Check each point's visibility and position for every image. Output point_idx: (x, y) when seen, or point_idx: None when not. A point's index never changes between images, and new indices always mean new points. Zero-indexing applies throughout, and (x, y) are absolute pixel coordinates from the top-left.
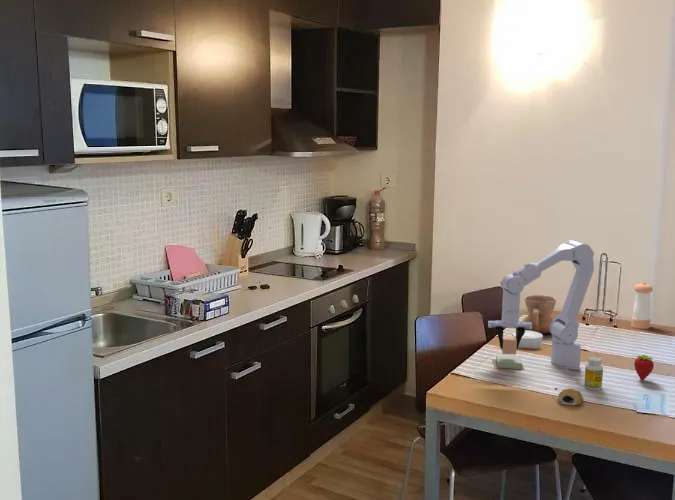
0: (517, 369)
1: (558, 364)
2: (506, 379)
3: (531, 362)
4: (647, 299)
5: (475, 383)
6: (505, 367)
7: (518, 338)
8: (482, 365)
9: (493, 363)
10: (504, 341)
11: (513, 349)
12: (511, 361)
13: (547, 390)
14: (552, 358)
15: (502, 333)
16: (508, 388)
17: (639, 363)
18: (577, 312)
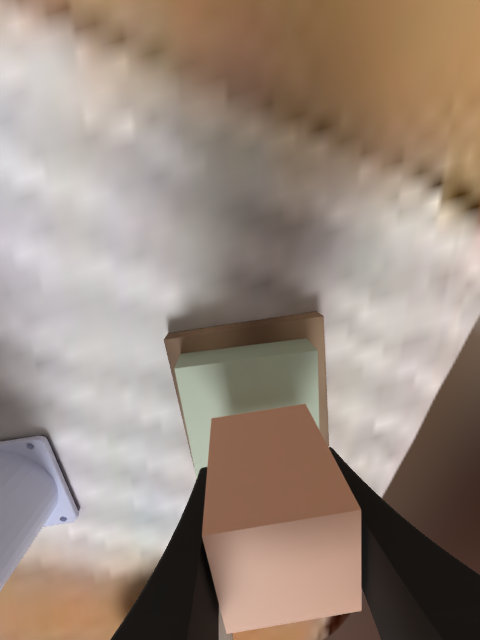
0: (203, 340)
1: (2, 463)
2: (257, 215)
3: (150, 485)
4: None
5: (434, 89)
6: (267, 344)
7: (181, 576)
8: (366, 389)
9: (324, 394)
10: (339, 491)
11: (233, 441)
12: (238, 383)
13: (3, 69)
14: (23, 502)
15: (444, 620)
16: (244, 41)
17: None
18: None
